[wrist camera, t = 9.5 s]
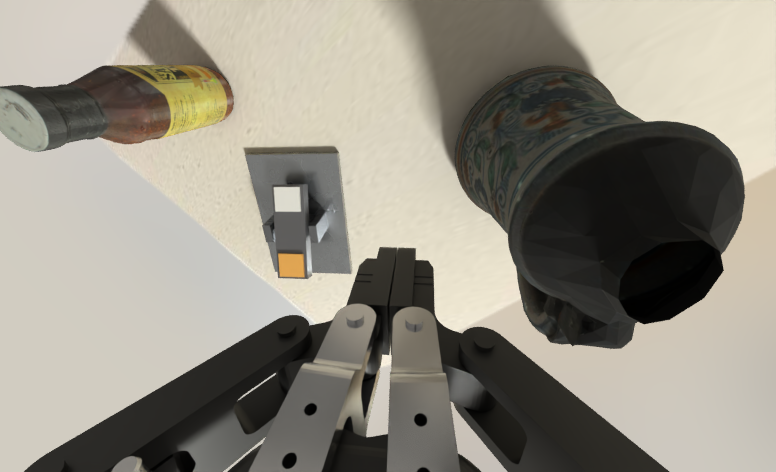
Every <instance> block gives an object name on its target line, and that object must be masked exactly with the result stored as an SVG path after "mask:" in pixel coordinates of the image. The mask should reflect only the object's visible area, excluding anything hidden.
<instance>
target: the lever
mask: <svg viewBox="0 0 776 472" xmlns="http://www.w3.org/2000/svg"><path fill="white" fill-rule="evenodd" d="M272 198H273V212H274V226H275V241H276V255H277V269H278V278H295V279H308V278H309V277H311V276H312V263H311V243H310V234H309V228H308V226H309V224H310V223H309V202H308V184H274V185H272Z"/></svg>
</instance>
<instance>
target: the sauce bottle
mask: <svg viewBox="0 0 776 472" xmlns="http://www.w3.org/2000/svg"><path fill="white" fill-rule="evenodd" d="M233 105H234V101H233V95H232V91H231V89H230V86H229V84H228V83H227V81H226V80H225V79H224V78H223V77H222V76H221V75H220V74H219V73H217V72H215V71H214V70H211V69H208V68H206V67H201V66H195V65H137V66H130V65H117V66H102V67H99V68H97V69H95V70H93V71H92V72H90V73H88V74H86V75H84V76H83V77H81V78H79V79H77V80H75V81H73V82H71V83H69V84H67V85H58V86H53V87H36V88H33V87H30V86H24V85H14V86H13V85H12V86H4V87H0V131H1V132H2V133H3V134H4V135H5V136H6V137H7V138H8V139H9V140H11V141H12V142H14V143H15V144H16V145H17V146H20V147H22V148H24V149H26V150H29V151H35V152H39V151H46V150H51V149H55V148H58V147H61V146H63V145H64V144H66V143H69V142H73V141H79V140H83V139H94V138H97V137H100V138H103V139H106V140H110V141H113V142H117V143H122V144H133V143H141V142H144V141H146V140H151V139H160V138H164V137H167V136H171V135H175V134H179V133H183V132H186V131H190V130H194V129H198V128H202V127H205V126H209V125H212V124H216V123H218V122H220V121H222V120H224V119H226V118H227V117H228V116H229V114H230V113H231V111H232V109H233Z"/></svg>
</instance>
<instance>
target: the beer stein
mask: <svg viewBox="0 0 776 472" xmlns="http://www.w3.org/2000/svg"><path fill="white" fill-rule="evenodd" d="M455 166H456V171H457V176H458V178H459V181H460V184H461V186H462V188H463V190H464V191H465V193H466V194H467V196H468V197H469V198H470V200H471V201H472V202H473V203H474V204H475V205H476V206H478V207H479V208H481V209H482V210H483V211H485V212H487V213H489V214H491V215H492V217H493V218H494V219H495V220H496V221H497V222H498V224H499V225H500V226H501V227H502V228H503V230H504V231H505V232H506V233H507V234H508V243H509V249H510V253H511V256H512V259H513V262H514V264H515V265H516V269H517V276H518V284H519V290H520V294H521V299H522V303H523V308H524V311H525V313H526V315H527V317H528V319H529V321H530V322H531V324H532V325H533V326H534V327H535V328H536V329H537V330H538V331H539V332H541V333H542V334H544V335H546V336H547V339H548V340H549V341H550V342H552V343H558V344H571V345H572V346H574V345H586V346H596V347H603V348H610V349H612V348H613V349H617V348H622V347H624V346H625V345H626V344H627V343H628V342H629V341H631V340H632V336H633V331H634V326H635V323H637V322H640V323H642V324H648V323H654V322H659V321H665V320H670V319H671V318H673V317H675V316H676V315H678V314H679V313H681V312H683V311H684V310H686V309H687V308H689V307H690V306H692V305H694V304H695V303H697V302H699V301H700V300H702V299H703V298H704V297H705V296H706V295H707V293H708V292H709V290H710V289H711V288H712V286H713V285H714V283H715V282H716V281H717V279H718V278H719V276H720V275H721V274H722V272H723V271H724V270H723V265H722V259H721V254H722V253H723V252H724V251H725V250H726V248H727V246H728V244H729V243H730V241H731V239H732V238H733V236H734V234H735V232H736V230H737V228H738V226H739V224H740V221H741V219H742V212H743V204H744V198H745V194H744V182H743V175H742V171H741V168H740V165H739V162H738V159H737V158H736V156H735V155H734V154H733V152H732V151H731V150H730V149H729V148H728V147H727V146H726V145H725V144H724V143H722V142H721V141H720V140H719V139H718V138H717V137H716V136H714V135H713V134H711V133H709V132H707V131H705V130H703V129H701V128H699V127H696V126H692V125H688V124H683V123H678V122H668V121H653V122H645V121H643V120H641V119H640V118H638V117H636V116H635V115H633V114H631V113H630V112H628V111H626V110H624V109H623V108H621V107H620V106H619V105H618V104H617V103H616V101H615V99H614V97H613V96H612V94H611V92H610V91H609V90H608V89H607V88H606V87H605V86H604V85H603V84H602V83H601V82H600V81H599V80H598V79H596V78H595V77H593V76H592V75H590V74H588V73H586V72H584V71H581V70H577V69H573V68H569V67H563V66H544V67H537V68H533V69H528V70H525V71H522V72H520V73H517V74H515V75H511V76H508V77H506V78H505V79H504V80H503V81H501V82H500V83H498V84H497V85H496V86H494V87H493V88H492V89H490V90H489V91H488V92H487V93H486V94H485V95H484V96H483V97H482V98H481V99H480V100H479V101H478V102H477V103H476V104H475V106H474V107H473V108H472V110H471V111H470V113H469V114H468V116H467V118H466V119H465V121H464V123H463V125H462V128H461V130H460V133H459V136H458V139H457V143H456V149H455Z"/></svg>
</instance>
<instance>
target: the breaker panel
mask: <svg viewBox="0 0 776 472" xmlns="http://www.w3.org/2000/svg"><path fill="white" fill-rule="evenodd" d="M245 156H246V160H247V164H248V168H249V172H250V175H251V179H252V183H253V187H254V191H255V195H256V199H257V203H258V207H259V210H260V214H261V218H262V222H263V225H262V227H263V231H264V234H265V238H266V242H268V245H269V249H270V253H271V257H272V261H273V265H274V269H275V272H278V269H277V255H276V241H275V226H274V212H273V198H272V185H274V184H308V202H309V223H310V224H309V226H308V228H309V234H310V243H311V263H312V273H342V274H351V273H352V265H351V256H350V247H349V238H348V230H347V221H346V212H345V203H344V194H343V186H342V177H341V168H340V159H339V152H316V153H248V154H246V155H245Z"/></svg>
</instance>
